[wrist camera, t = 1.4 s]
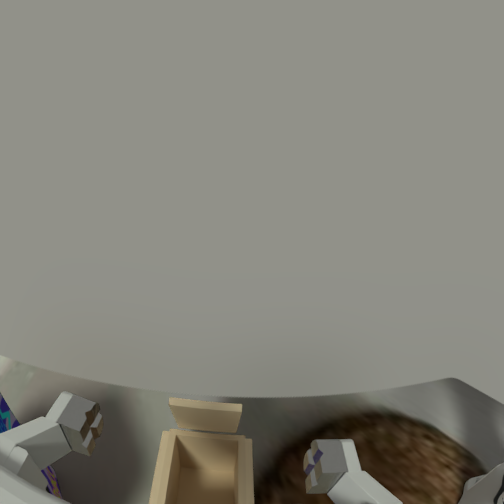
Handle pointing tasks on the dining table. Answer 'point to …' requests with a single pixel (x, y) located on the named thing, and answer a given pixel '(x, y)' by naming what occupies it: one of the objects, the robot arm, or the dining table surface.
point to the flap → (206, 415)
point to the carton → (203, 469)
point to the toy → (5, 420)
